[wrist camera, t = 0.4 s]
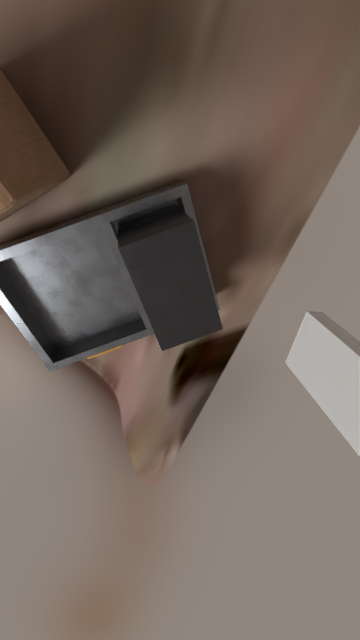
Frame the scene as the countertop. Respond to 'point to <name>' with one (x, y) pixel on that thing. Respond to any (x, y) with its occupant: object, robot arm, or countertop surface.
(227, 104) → the countertop surface
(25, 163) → the wooden block
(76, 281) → the rack
